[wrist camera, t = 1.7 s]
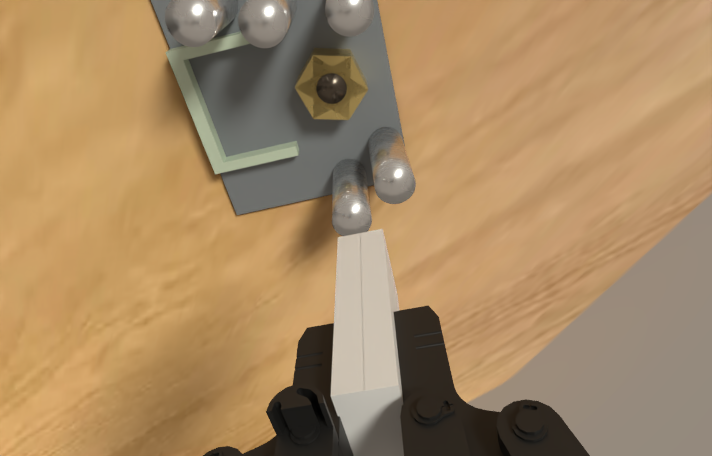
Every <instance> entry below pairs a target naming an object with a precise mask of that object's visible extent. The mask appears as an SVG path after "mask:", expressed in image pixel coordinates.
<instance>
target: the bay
mask: <svg viewBox="0 0 712 456" xmlns="http://www.w3.org/2000/svg"><path fill="white" fill-rule="evenodd" d="M247 44H250V43H249V42H248V41H247V40H246V39H245V38H244V37H243V35H242V33H241V31H240V32H236V33H232V34H228V35H224V36H220V37H216V38H212V39H211V40H210V41H209V42H207V43H206V44H204V45H202V46H200V47H188V46H185V45H184V46H180V47H177V48H173V49H170V50H168V51H167V52H166V55H167V57H168V60H169V62H170V65H171V67H172V69H173V72H174V74H175V77H176V79H177V82H178V84H179V87H180V89H181V92H182V94H183V96H184V99H185V101H186V104H187V106H188V109H189V111H190V114H191V116H192V119H193V121H194V123H195V126H196V128H197V131H198V133H199V136H200V138H201V141H202V143H203V146H204V148H205V150H206V153H207V155H208V158H209V160H210V163H211V165H212V168H213V170H214V173H215V174H219V173H223V172H228V171H232V170H236V169H241V168H245V167H250V166H254V165H258V164H263V163H267V162H272V161H276V160H280V159H285V158H289V157H294V156H298V155H299V147H298V144H297V141H293V142H289V143H285V144H280V145H276V146H272V147H267V148H263V149H259V150H254V151H250V152H246V153H241V154H237V155H233V156H228V157H226V155H225V152H224V150H223V147H222V145H221V142H220V140H219V137H218V134H217V132H216V129H215V127H214V124H213V121H212V119H211V116H210V114H209V111H208V109H207V106H206V103H205V101H204V98H203V96H202V93H201V90H200V88H199V85H198V83H197V80H196V78H195V75H194V72H193V70H192V67H191V65H190V62H189V60H188V59H191V58H195V57H199V56H203V55H207V54H211V53H215V52H219V51H223V50H227V49H231V48H235V47H239V46H243V45H247Z"/></svg>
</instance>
